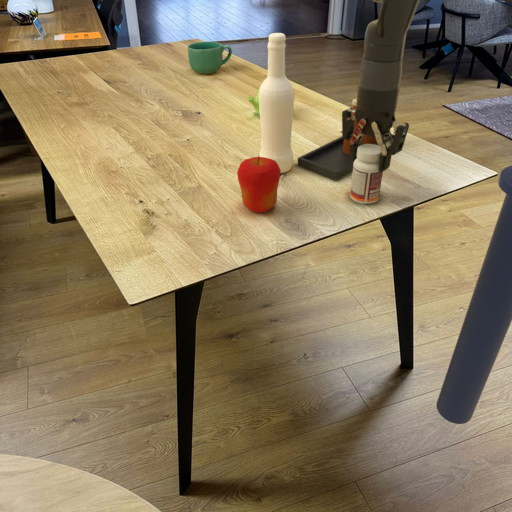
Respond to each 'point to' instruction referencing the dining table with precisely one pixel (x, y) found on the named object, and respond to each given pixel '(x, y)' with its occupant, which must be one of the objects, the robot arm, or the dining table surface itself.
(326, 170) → the tray
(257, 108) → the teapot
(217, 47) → the mug
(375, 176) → the pill bottle
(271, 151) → the bottle
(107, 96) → the dining table surface
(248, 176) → the apple
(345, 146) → the amber bottle near
